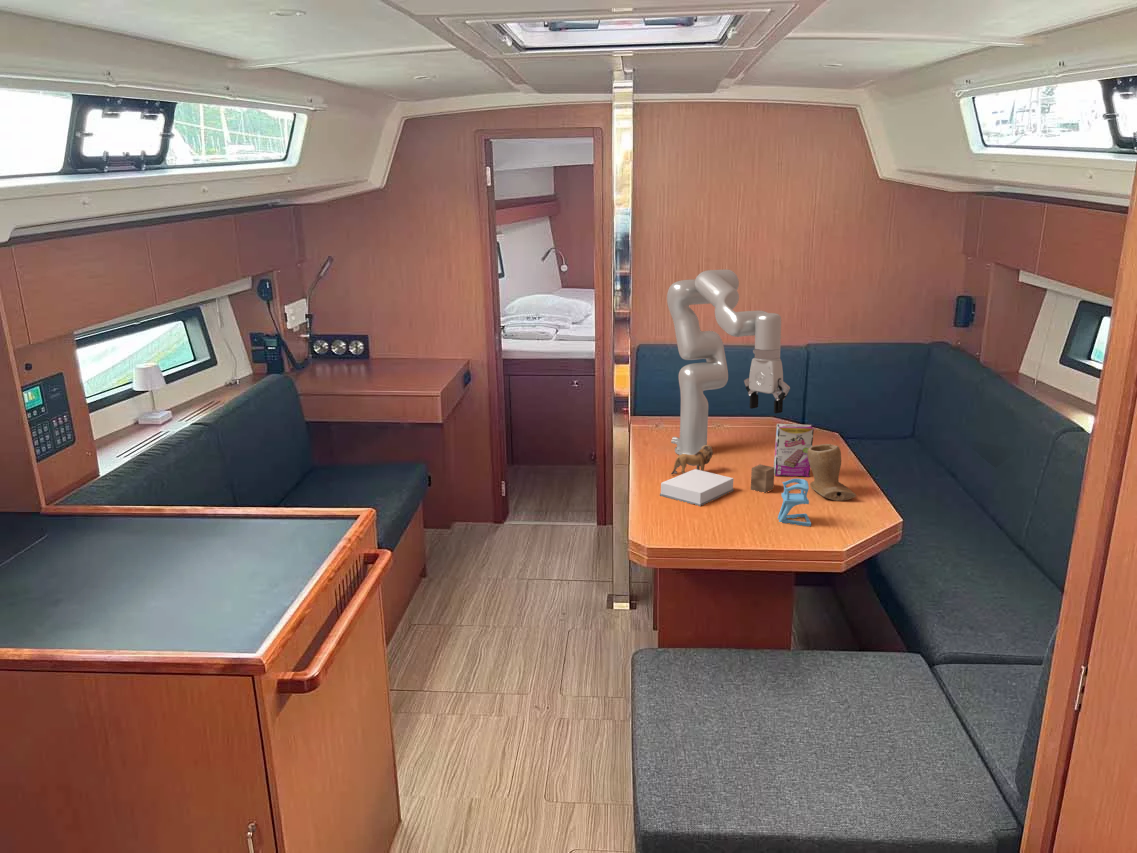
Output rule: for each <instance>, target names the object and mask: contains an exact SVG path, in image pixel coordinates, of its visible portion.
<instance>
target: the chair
mask: <svg viewBox="0 0 1137 853" xmlns="http://www.w3.org/2000/svg"><path fill="white" fill-rule="evenodd" d="M781 483H782V485H783V492H781V498H782V504H781V507H780V510H779V513H778V514H777V520H778V523H779V522H782V523H781V524H787V523H790V524H789V525H794V524H796V525H795V526H801V525H802V527H803V526H804V527H809V526H810V527H812V522H811V520H810V518H809V516H808V514H807V513H793V514H789V513H790V512H791V510H792V508H794V507H796V506H799V505H809V504H810V500H809V499H808V496H807V495H808V492H809V488H810V485H809V482H808V480H805V479H802V478H790V479H789V480H786V481H782V482H781ZM793 483H795V484H793ZM789 484H792V485H791V486H789V487H787V485H789ZM793 490H800V493H799V492H797V493H793V492H792V493H790V491H793ZM797 517H801V518H805V521H800V520H793V519H798V518H797ZM787 518H792V519H787Z"/></svg>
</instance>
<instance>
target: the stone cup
mask: <svg viewBox="0 0 1137 853" xmlns="http://www.w3.org/2000/svg"><path fill="white" fill-rule="evenodd" d="M807 455H808V461H809V464H810V467H811V468H810V470H811V472H812V475H813V481H811V482H810V483H809V487H810V488H811V489H812V490H814V491H815V493H817V494H819V495H820V496H822V497H823V498H826V499H828V500H831V501H837V502H841V501H848V500H851V499H854V498H856V497H857V494H856V493H855V492H853V490H851V489H850V488H848V487H847V486H845V485H844V484H843V483H841V482H840V480H839V479H840V471H841V467H842V452H841V448H840V447H839V446H838V445H835V444H831V443H821V444H815V445H812V447H810V448H809V449H808V452H807Z"/></svg>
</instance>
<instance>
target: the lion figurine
mask: <svg viewBox="0 0 1137 853" xmlns="http://www.w3.org/2000/svg"><path fill="white" fill-rule="evenodd" d="M713 453H714V451H713V447H712V446H711V445H709V444H707V445H705V446H702V447H701V450H700V451H699V452H697V453H696V454H695V455H687V454H681V455H678V456H677V457H676V459H675V461H674V465H673V470H672V471H671V474H670V475H674V474H678V471H677V469H678V468H679V467H680V466H681V467H680V468H681V470H680V471H681V473H682V474H684V473H686V471H685V470H686V467H687V466H693V467H694V466H695V467H696V469H697V470H701V471H705V465H707V464H709V463H710V461H711V459H712V457H713Z"/></svg>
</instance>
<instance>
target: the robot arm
mask: <svg viewBox="0 0 1137 853" xmlns="http://www.w3.org/2000/svg"><path fill="white" fill-rule="evenodd" d="M739 285H740V280H739V277H738V275H737V274H736V273H735V272H734V271H733V270H731V269H726V268H725V269H709V270H704V271H702V272H700V273H699V274H698V275H696V277H695V279H684V280H683V279H682V280H678V281H675V282H673V283H672V284H671V285H670V286H669V288H668V290H667V294H666V303H667V307H668V311H669V313H670V316H671V319H672V323H673V325H674V326H673V327H674V333H675V339H676V344H677V350H678V353H679V357H680V358H681V359H682V360H685V361H694V360H695V361H697V360H706V361H705V362H697V363H694V362H693V363H689V364H686V365H684V366H682V367H681V369H679V372H678V375H677V376H678V385H679V392H680V418H679V437H678V436H672V438H671V440H670V443H671V444H674V445H676V447H675V448H674V452H675V454H677V455H678V456H679V455H681V454H687V455H695V454H696V453H697V452H699V451H700V450H701V447H702V446H705V445H708V426H709V424H708V423H709V402H708V399H707V397H706V396H705V394H704V391H709V390H718V389H721V388H724V387H725V386H726V385H727V383H728V380H729V372H728V364H727V359H726V358H727V357H726V353H725V346H724V342H723V339H722V337H721V335H720V334H719V333H718V332H716V331H714V330H704V331H702V330H701V327H700V321H699V318H698V316H697V314H696V313H695V311H694V310H693V309H692V308H691V307H690V306H691V305H709V304H711V305H712V306H713V307H714V317H715V320H716V323H717V325H718V326H719V327H720V328H721V329H722V331H724V332H725V333H726V334H728V335H729V336H732V337H734V338H736V337H737V338H739V337H749V336H750V337H751V336H753V337H754V349H753V350H752V353H753V354H754V357H753V358H752V359H751V363H750V368H749V369H750V370H749V375H748V376H749V377H747V378H746V379H744V380H743V382H744V385H745V389H746V391H747V395H748V396H749V409H757V408H758V407H759V394H758V393H763V394H769V395H770V394H771V395H773V397H774V401H773V413H774V414H780V413H783V407H784V406H783V405H784V404H783V403H784V400H785V398H786V397H787V396H789V395H788V394H789V392H790V390H791V387H790V385H788V384H787V383H786V382H785V381H784V371H783V363H782V359H781V344H782V343H781V342H782V341H781V339H782V316H781V315H780V314H779V313H775V312H767V311H764V310H745V311H735V310H734V309H735V308H736V306H737V305H738V303H739V300H740V294H739V292H738V289H739V287H740V286H739Z"/></svg>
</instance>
